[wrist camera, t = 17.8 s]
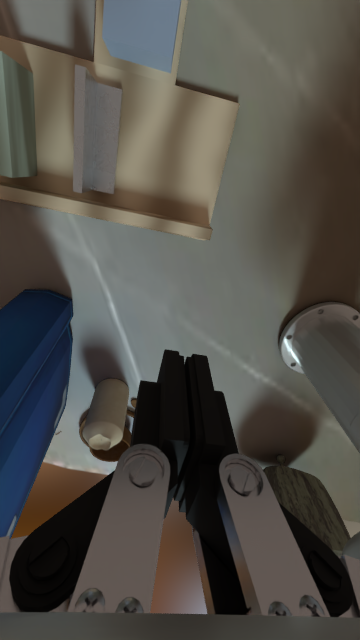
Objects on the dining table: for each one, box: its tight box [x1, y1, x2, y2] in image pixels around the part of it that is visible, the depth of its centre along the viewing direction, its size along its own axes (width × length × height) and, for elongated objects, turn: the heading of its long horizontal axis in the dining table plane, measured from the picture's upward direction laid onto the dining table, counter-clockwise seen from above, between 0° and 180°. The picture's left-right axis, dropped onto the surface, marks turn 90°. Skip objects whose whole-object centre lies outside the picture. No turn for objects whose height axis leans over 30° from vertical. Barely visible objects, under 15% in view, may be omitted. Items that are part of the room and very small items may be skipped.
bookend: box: [73, 64, 123, 194], centre depth 25 cm, size 3×9×5 cm, turn 168°
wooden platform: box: [0, 0, 240, 241], centre depth 23 cm, size 24×24×6 cm
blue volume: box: [0, 289, 73, 539], centre depth 29 cm, size 22×7×25 cm, turn 165°
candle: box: [82, 379, 129, 450], centre depth 41 cm, size 6×6×10 cm
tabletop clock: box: [263, 455, 351, 557], centre depth 46 cm, size 14×9×25 cm, turn 62°
